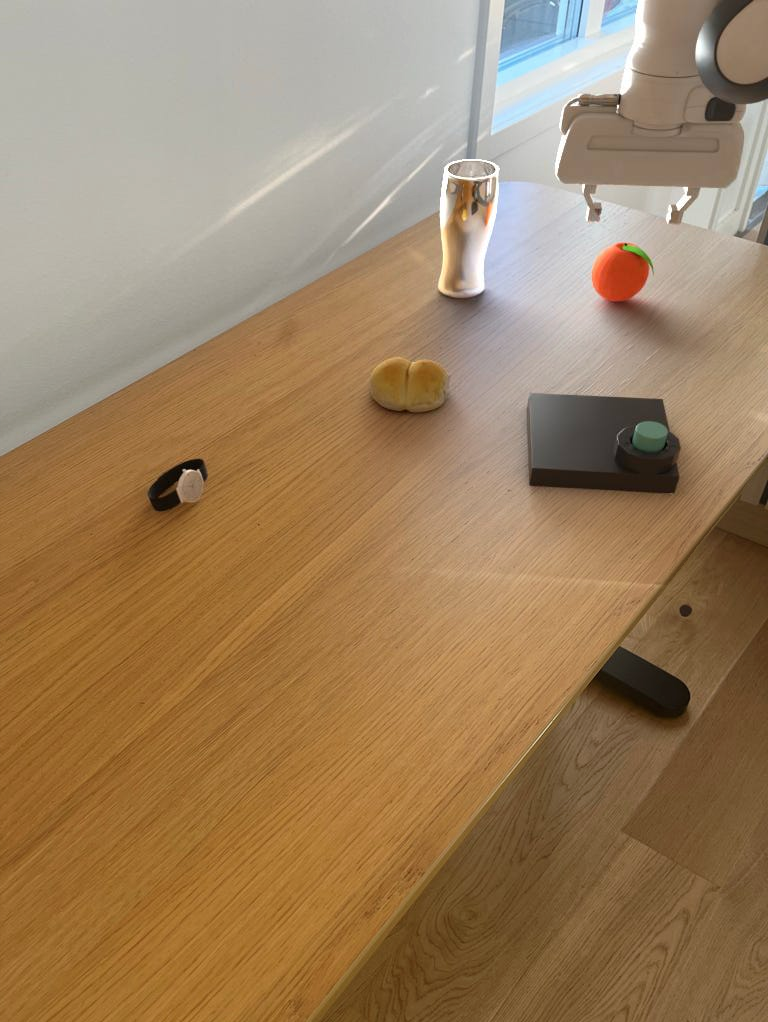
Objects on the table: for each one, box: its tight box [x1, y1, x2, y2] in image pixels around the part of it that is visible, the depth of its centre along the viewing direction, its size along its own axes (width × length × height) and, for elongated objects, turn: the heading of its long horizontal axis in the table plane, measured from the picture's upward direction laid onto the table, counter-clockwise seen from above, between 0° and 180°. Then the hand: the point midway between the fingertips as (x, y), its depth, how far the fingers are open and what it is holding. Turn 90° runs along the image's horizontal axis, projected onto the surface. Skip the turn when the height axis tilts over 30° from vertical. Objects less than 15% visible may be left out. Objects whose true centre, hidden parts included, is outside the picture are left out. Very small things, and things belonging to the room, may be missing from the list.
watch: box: [147, 458, 209, 512], centre depth 95 cm, size 8×5×4 cm, turn 147°
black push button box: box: [526, 392, 682, 495], centre depth 97 cm, size 14×14×4 cm
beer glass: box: [437, 159, 500, 299], centre depth 120 cm, size 7×7×15 cm
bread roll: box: [368, 356, 451, 413], centre depth 106 cm, size 8×9×4 cm
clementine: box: [590, 241, 655, 302], centre depth 119 cm, size 8×7×7 cm
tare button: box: [632, 421, 668, 452], centre depth 92 cm, size 3×3×2 cm
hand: (632, 221), depth 114 cm, fingers open, 8 cm apart
